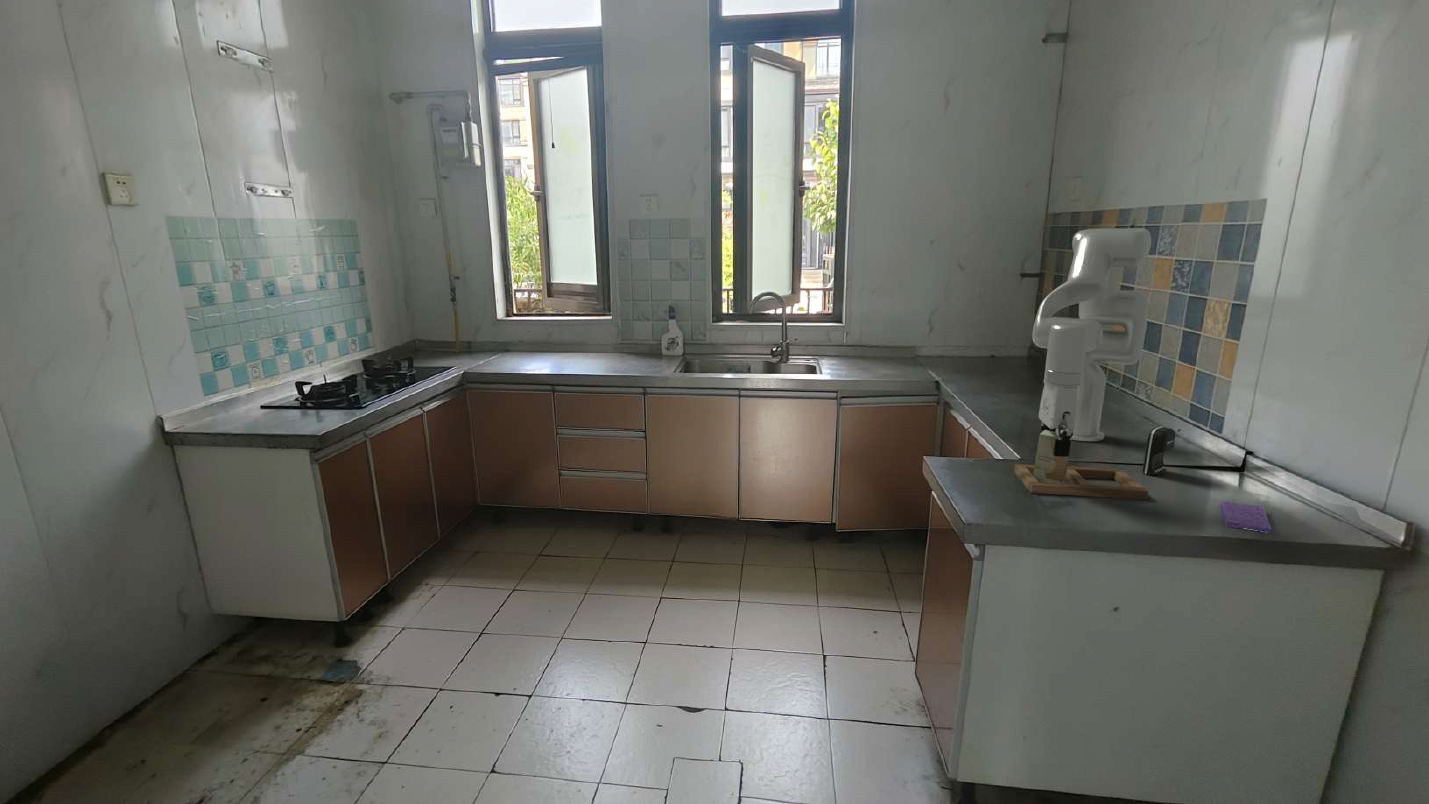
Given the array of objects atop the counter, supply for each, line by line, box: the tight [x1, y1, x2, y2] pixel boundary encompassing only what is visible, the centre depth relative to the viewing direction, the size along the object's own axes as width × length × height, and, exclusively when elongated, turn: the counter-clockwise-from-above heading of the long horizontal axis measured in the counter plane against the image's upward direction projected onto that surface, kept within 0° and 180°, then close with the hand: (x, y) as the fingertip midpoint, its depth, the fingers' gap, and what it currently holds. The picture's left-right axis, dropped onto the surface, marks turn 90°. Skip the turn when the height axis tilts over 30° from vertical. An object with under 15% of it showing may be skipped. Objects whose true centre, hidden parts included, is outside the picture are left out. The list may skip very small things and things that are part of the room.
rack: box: [1013, 463, 1149, 500], centre depth 148 cm, size 14×24×2 cm, turn 80°
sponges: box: [1220, 500, 1272, 534], centre depth 129 cm, size 7×13×2 cm, turn 146°
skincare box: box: [1033, 430, 1073, 483], centre depth 148 cm, size 6×4×12 cm
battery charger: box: [1142, 426, 1176, 476], centre depth 154 cm, size 7×4×11 cm, turn 124°
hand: (1053, 448), depth 147 cm, fingers open, 9 cm apart
